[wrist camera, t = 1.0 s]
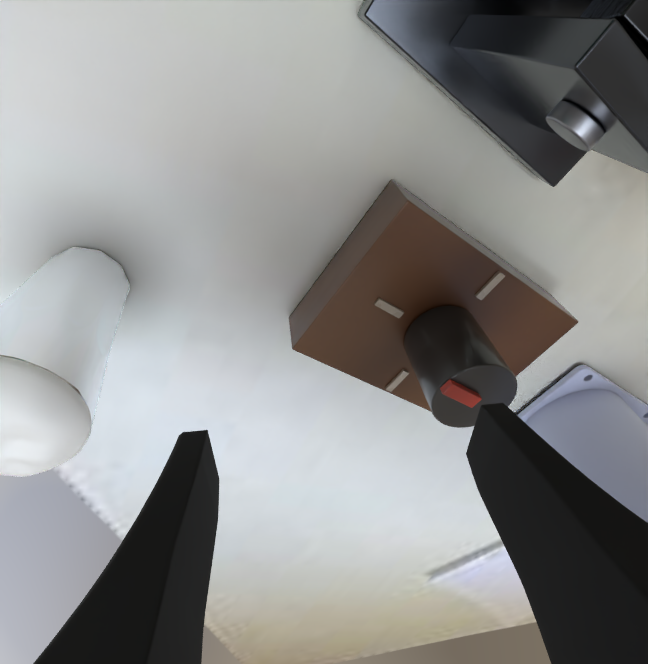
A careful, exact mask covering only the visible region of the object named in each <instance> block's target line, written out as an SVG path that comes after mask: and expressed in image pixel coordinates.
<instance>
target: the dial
mask: <svg viewBox="0 0 648 664" xmlns="http://www.w3.org/2000/svg"><path fill="white" fill-rule="evenodd" d="M404 347H405V351H406V353H407V356H408V358H409V360H410V363H411V365H412V367H413V370H414V372H415V374H416V376H417V379H418V381H419V383H420V386H421V388H422V390H423V393H424V395H425V397H426V400H427V402H428V404H429V407H430V409H431V411H432V414H433V415H434V417H435V418H436V419H437V420H438V421H440V422H441V423H443V424H445V425H447V426H451V427H471V426H475V423H476V420H477V417H478V413H479V410H480V407H481V405H485V404H496V403H504V404H505V405H506V406H507V407H508V406H509V405H510V404H511V402H512V401H513V399H514V397H515V395H516V392H517V380H516V377H515V375H514V374H513V372H512V371H511V369H510V368H509V366H508V365H507V364H506V362H505V361H504V359H503V358H502V356H501V355H500V354H499V352H498V351H497V349H496V348H495V346H494V345H493V344H492V342H491V341H490V339H489V338H488V336H487V335H486V334H485V332H484V331H483V329H482V328H481V326H480V325H479V324H478V322H477V321H476V319H475V318H474V316H473V315H472V314H471V313H470V312H469V311H467V310H465V309H463V308H460V307H457V306H441V307H437V308H434V309H431V310H429V311H427V312H425V313H423V314H422V315H420V316H419V317H418V318H417V319H416V320H415V321H414V322H413V323H412V324H411V325H410V327H409V328H408V330H407V332H406V335H405V339H404Z"/></svg>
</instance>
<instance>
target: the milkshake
mask: <svg viewBox="0 0 648 664" xmlns="http://www.w3.org/2000/svg"><path fill="white" fill-rule="evenodd" d="M129 288H130V284H129V282H128V280H127V277H126V275H125V273H124V271H123V268H122V266H121V265H120V264H119V263H117V262H116V261H115V260H113V259H112V258H110V257H109V256H107V255H106V254H104V253H103V252H102V251H100V250H96V249H88V248H80V247H71V248H69V249H67V250H65V251H63V252H61V253H59V254H57V255H55V256H53V257H52V258H50V259H49V260H48V261H47V262H46V263H45V264H44V265H43V266H42V267H40V268H39V269H38V270H37V271H36V272H35V273H34V274H33V275H32V276H31V277H30V278H28V279H27V280H26V281H25V282H24V283H23V284H22V285H21V286H20V287H19V288H18V289H16V290H15V291H14V292H13V293H12V294H11V295H10V296H9V297H8V298H7V299H6V300H5V301H3V302H2V303H1V304H0V475H8V476H19V477H21V476H22V477H24V476H30V475H35V474H38V473H41V472H44V471H47V470H50V469H52V468H55V467H57V466H59V465H61V464H63V463H65V462H67V461H68V460H70V459H72V458H73V457H74V456H76V455H77V454H78V453H79V452H80V451H81V449H82V448H83V447H84V445H85V443H86V442H87V440H88V438H89V436H90V433H91V428H92V424H93V420H94V416H95V413H96V409H97V405H98V401H99V397H100V393H101V389H102V384H103V380H104V376H105V371H106V367H107V362H108V358H109V354H110V351H111V347H112V344H113V341H114V337H115V334H116V331H117V327H118V324H119V321H120V317H121V314H122V311H123V308H124V304H125V301H126V298H127V295H128V291H129Z"/></svg>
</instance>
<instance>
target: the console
mask: <svg viewBox="0 0 648 664" xmlns="http://www.w3.org/2000/svg"><path fill="white" fill-rule="evenodd" d="M441 306H457V307H460V308H463V309H465V310H467V311H469V312H470V313H471V314H472V315H473V316H474V318H475V319H476V321H477V322H478V324H479V325H480V326H481V328H482V329H483V331H484V332H485V334H486V335H487V336H488V338H489V339H490V341H491V342H492V344H493V345H494V346H495V348H496V349H497V351H498V352H499V354H500V355H501V356H502V358H503V359H504V361H505V362H506V364H507V365H508V366H509V368H510V369H511V371H512V372H513V374H514V375H515V377H516V376H517V375H518V374H519V373H520V372H522V371H523V370H524V369H525V368H526V367H527V366H528V365H530V364H531V363H532V362H533V361H534V360H535V359H537V358H538V357H539V356H540V355H541V354H542V353H543V352H545V351H546V350H547V349H548V348H549V347H550V346H552V345H553V344H554V343H555V342H556V341H557V340H559V339H560V338H561V337H562V336H563V335H564V334H565V333H567V332H568V331H569V330H570V329H571V328H572V327H574V326H575V325H576V324H577V323H578V321H577V320H576V319H575V318H574V317H573V316H572V315H571V314H570V313H569V312H568V311H567V310H566V309H565V308H564V307H563V306H562V305H561V304H560V303H559V302H558V301H557V300H556V299H555V298H554V297H553V296H552V295H551V294H549V293H548V292H547V291H545V290H544V289H542V288H541V287H540V286H538V285H537V284H536V283H534V282H533V281H531V280H530V279H529V278H527V277H526V276H525V275H523V274H522V273H520V272H519V271H518V270H516V269H515V268H514V267H512V266H511V265H509V264H508V263H507V262H505V261H504V260H503V259H501V258H500V257H498V256H497V255H496V254H494V253H493V252H491V251H490V250H489V249H487V248H486V247H485V246H483V245H482V244H480V243H479V242H478V241H476V240H475V239H474V238H472V237H471V236H469V235H468V234H467V233H465V232H464V231H463V230H461V229H460V228H458V227H457V226H456V225H454V224H453V223H451V222H450V221H449V220H447V219H446V218H445V217H443V216H442V215H440V214H439V213H438V212H436V211H435V210H434V209H432V208H431V207H429V206H428V205H427V204H425V203H424V202H423V201H421V200H420V199H418V198H417V197H416V196H414V195H413V194H412V193H410V192H409V191H407V190H406V189H405V188H403V187H402V186H400V185H399V184H398V183H396V182H395V181H394V180H391V181H390V182H389V184H388V185H387V186H386V188H385V189H384V190H383V192H382V193H381V194H380V196H379V197H378V198H377V200H376V201H375V202H374V204H373V205H372V207H371V208H370V209H369V211H368V212H367V213H366V215H365V216H364V217H363V219H362V220H361V221H360V223H359V224H358V225H357V227H356V228H355V229H354V231H353V232H352V234H351V235H350V236H349V238H348V239H347V240H346V242H345V243H344V244H343V246H342V247H341V248H340V250H339V251H338V252H337V254H336V255H335V256H334V258H333V259H332V261H331V262H330V263H329V265H328V266H327V267H326V269H325V270H324V271H323V273H322V274H321V275H320V277H319V278H318V279H317V281H316V282H315V283H314V285H313V286H312V288H311V289H310V290H309V292H308V293H307V294H306V296H305V297H304V298H303V300H302V301H301V302H300V304H299V305H298V306H297V308H296V309H295V310H294V312H293V313H292V315H291V316H290V317H289V322H290V332H291V342H292V349H293V350H295V351H297V352H300V353H302V354H304V355H306V356H309V357H311V358H313V359H315V360H318V361H320V362H322V363H324V364H326V365H329V366H331V367H333V368H335V369H338V370H340V371H342V372H344V373H347V374H349V375H351V376H353V377H355V378H358V379H360V380H362V381H364V382H367V383H369V384H371V385H373V386H375V387H378V388H380V389H382V390H384V391H387V392H389V393H391V394H393V395H396V396H398V397H400V398H402V399H404V400H407V401H409V402H411V403H413V404H416V405H418V406H420V407H422V408H425V409H427V410H429V411H431V409H430V407H429V404H428V402H427V400H426V397H425V395H424V393H423V390H422V388H421V386H420V383H419V381H418V379H417V376H416V374H415V372H414V370H413V367H412V365H411V363H410V360H409V358H408V356H407V353H406V351H405V347H404V339H405V335H406V332H407V330H408V328H409V327H410V325H411V324H412V323H413V322H414V321H415V320H416V319H417V318H418V317H419V316H420V315H422V314H423V313H425V312H427V311H429V310H431V309H434V308H437V307H441ZM431 412H432V411H431Z"/></svg>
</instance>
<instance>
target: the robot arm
mask: <svg viewBox="0 0 648 664" xmlns="http://www.w3.org/2000/svg"><path fill="white" fill-rule="evenodd" d="M466 455H467V458H468V461H469V464H470V467H471V470H472V474H473V476H474V479H475V482H476V485H477V488H478V491H479V493H480V495H481V497H482V499H483V501H484V504H485V506H486V508H487V510H488V512H489V514H490V516H491V518H492V521H493V523H494V525H495V527H496V529H497V531H498V533H499V535H500V537H501V539H502V541H503V544H504V546H505V548H506V550H507V552H508V554H509V556H510V558H511V560H512V562H513V564H514V567H515V569H516V571H517V573H518V575H519V578H520V580H521V582H522V585H523V587H524V589H525V592H526V594H527V597H528V600H529V602H530V605H531V608H532V611H533V613H534V616H535V619H536V621H537V624H538V626H539V629H540V632H541V635H542V638H543V641H544V644H545V647H546V650H547V652H548V655H549V658H550V661H551V664H648V405H647V404H645V403H644V402H642V401H641V400H639V399H638V398H636V397H635V396H633V395H632V394H630V393H628V392H627V391H625V390H624V389H622V388H621V387H619V386H618V385H616V384H615V383H613V382H612V381H610V380H608V379H607V378H605V377H604V376H602V375H601V374H599V373H598V372H596V371H595V370H593V369H591V368H590V367H588V366H587V365H580V366H577V367H576V368H574V369H573V370H572V371H571V372H569V373H568V374H567V375H566V376H564V377H563V378H562V379H561V380H560V381H558V382H557V383H556V384H555V385H553V386H552V387H551V388H550V389H548V390H547V391H546V392H545V393H544V394H542V395H541V396H540V397H539V398H537V399H536V400H535V401H534V402H532V403H531V404H530V405H529V406H528V407H526V408H525V409H524V410H523V411H521V412H520V413H519V414H518V415H516V414H515V413H514V412H513V411H512V410H510V409H509V408H508V407H507V406H506V405H505V404H504V403H496V404H485V405H481V407H480V410H479V413H478V417H477V420H476V423H475V426H474V430H473V433H472V436H471V440H470V443H469V446H468V449H467V453H466ZM218 505H219V476H218V472H217V468H216V464H215V459H214V455H213V451H212V447H211V443H210V439H209V435H208V430H203V431H192V432H183V433H182V434H181V435H179V437H178V439H177V442H176V444H175V446H174V449H173V451H172V453H171V455H170V457H169V459H168V461H167V463H166V465H165V467H164V469H163V471H162V473H161V475H160V477H159V479H158V481H157V483H156V485H155V487H154V488H153V490H152V492H151V494H150V496H149V497H148V499H147V501H146V503H145V505H144V506H143V508H142V510H141V512H140V514H139V515H138V517H137V519H136V520H135V522H134V524H133V525H132V527H131V528H130V530H129V532H128V533H127V535H126V537H125V538H124V540H123V541H122V543H121V545H120V546H119V548H118V549H117V551H116V553H115V554H114V556H113V557H112V559H111V560H110V562H109V563H108V565H107V566H106V568H105V569H104V571H103V572H102V574H101V575H100V577H99V578H98V579H97V581H96V582H95V584H94V585H93V587H92V588H91V589H90V591H89V592H88V594H87V595H86V596H85V598H84V599H83V601H82V602H81V603H80V605H79V606H78V607H77V609H76V610H75V611H74V613H73V614H72V615H71V617H70V618H69V619H68V620H67V622H66V623H65V624H64V626H63V627H62V628H61V630H60V631H59V632H58V633H57V635H56V636H55V637H54V639H53V640H52V642H50V644H49V645H48V646H47V648H46V649H45V650H44V651H43V652H42V654H41V655H40V656H39V657H38V659H37V660H36V661H35V662H34V664H201V658H202V639H203V627H204V617H205V609H206V602H207V595H208V587H209V580H210V573H211V566H212V559H213V552H214V545H215V537H216V530H217V522H218Z"/></svg>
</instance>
